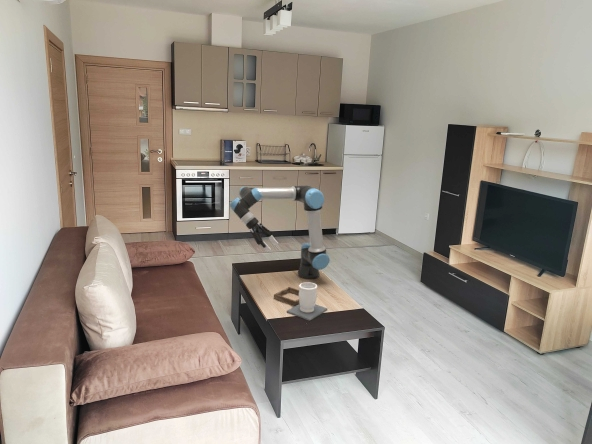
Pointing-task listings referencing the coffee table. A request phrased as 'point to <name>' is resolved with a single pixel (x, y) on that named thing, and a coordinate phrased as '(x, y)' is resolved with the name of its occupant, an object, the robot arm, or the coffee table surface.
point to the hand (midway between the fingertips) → (273, 247)
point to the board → (307, 316)
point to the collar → (280, 297)
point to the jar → (307, 296)
